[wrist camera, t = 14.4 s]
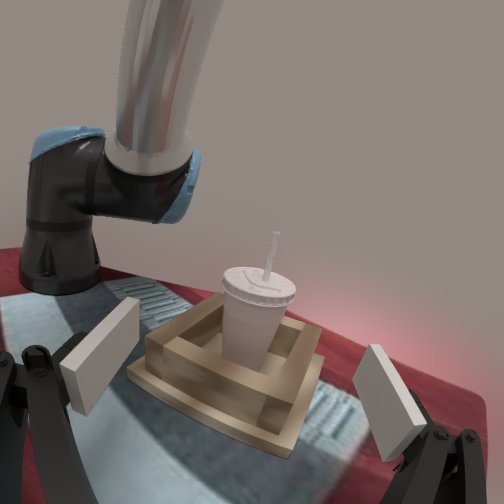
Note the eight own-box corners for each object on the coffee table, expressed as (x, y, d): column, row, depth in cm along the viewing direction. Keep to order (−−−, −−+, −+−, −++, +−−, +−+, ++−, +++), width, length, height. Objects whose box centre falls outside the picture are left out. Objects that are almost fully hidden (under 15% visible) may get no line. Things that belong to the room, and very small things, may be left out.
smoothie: (234, 397, 21) (273, 242, 18) (195, 357, 26) (216, 218, 22) (283, 375, 26) (325, 242, 22) (242, 343, 30) (270, 222, 27)
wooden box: (127, 378, 22) (124, 332, 21) (205, 322, 36) (211, 285, 34) (286, 459, 17) (310, 419, 15) (320, 366, 31) (335, 328, 29)
